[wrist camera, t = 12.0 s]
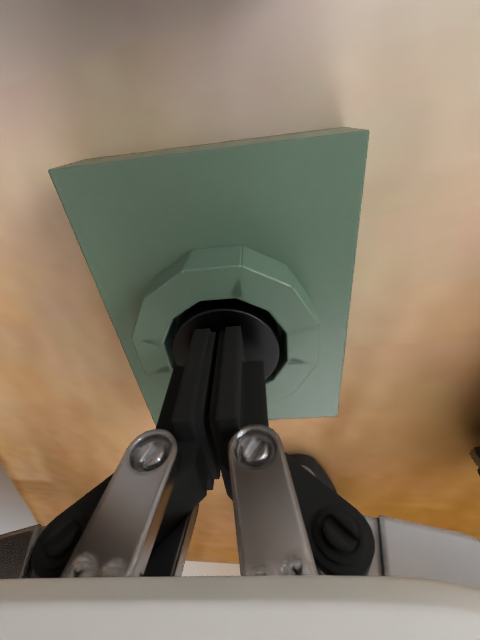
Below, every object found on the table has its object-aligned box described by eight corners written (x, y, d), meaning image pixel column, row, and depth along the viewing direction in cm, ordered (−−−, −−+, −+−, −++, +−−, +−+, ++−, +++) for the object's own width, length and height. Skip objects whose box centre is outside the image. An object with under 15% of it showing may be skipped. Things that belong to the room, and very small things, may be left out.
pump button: (170, 289, 12) (159, 314, 10) (274, 280, 11) (278, 304, 10) (191, 365, 14) (184, 394, 12) (278, 359, 14) (281, 389, 12)
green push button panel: (84, 159, 12) (9, 179, 8) (345, 126, 11) (395, 132, 7) (166, 389, 19) (146, 456, 15) (326, 379, 18) (346, 447, 14)
